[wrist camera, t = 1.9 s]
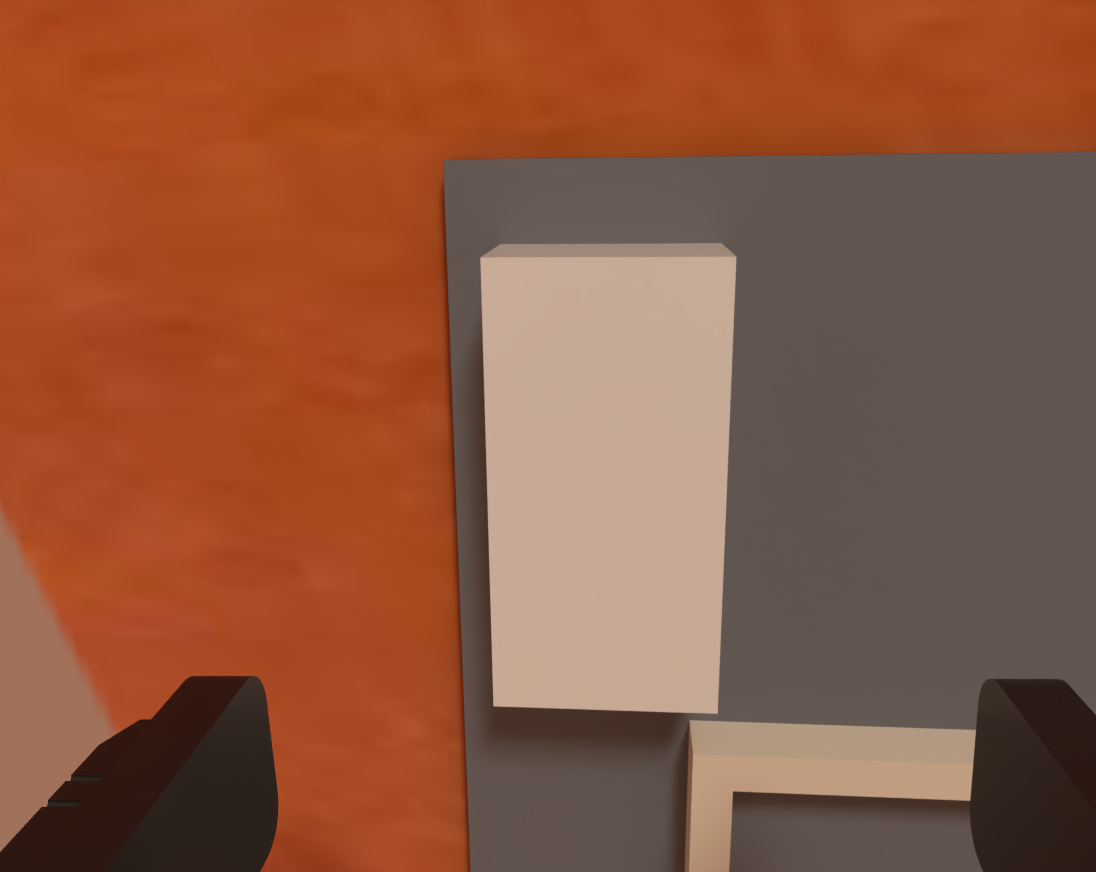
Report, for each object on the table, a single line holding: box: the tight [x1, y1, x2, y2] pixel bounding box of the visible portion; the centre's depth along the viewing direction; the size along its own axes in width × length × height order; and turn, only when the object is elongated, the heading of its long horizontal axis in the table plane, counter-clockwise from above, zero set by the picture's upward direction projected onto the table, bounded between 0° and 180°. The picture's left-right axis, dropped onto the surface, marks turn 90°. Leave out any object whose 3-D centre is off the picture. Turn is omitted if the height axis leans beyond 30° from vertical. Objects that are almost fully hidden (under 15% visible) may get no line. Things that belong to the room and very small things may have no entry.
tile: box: [480, 243, 736, 714], centre depth 18 cm, size 8×4×2 cm, turn 1°
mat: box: [443, 152, 1096, 872], centre depth 19 cm, size 19×17×2 cm
